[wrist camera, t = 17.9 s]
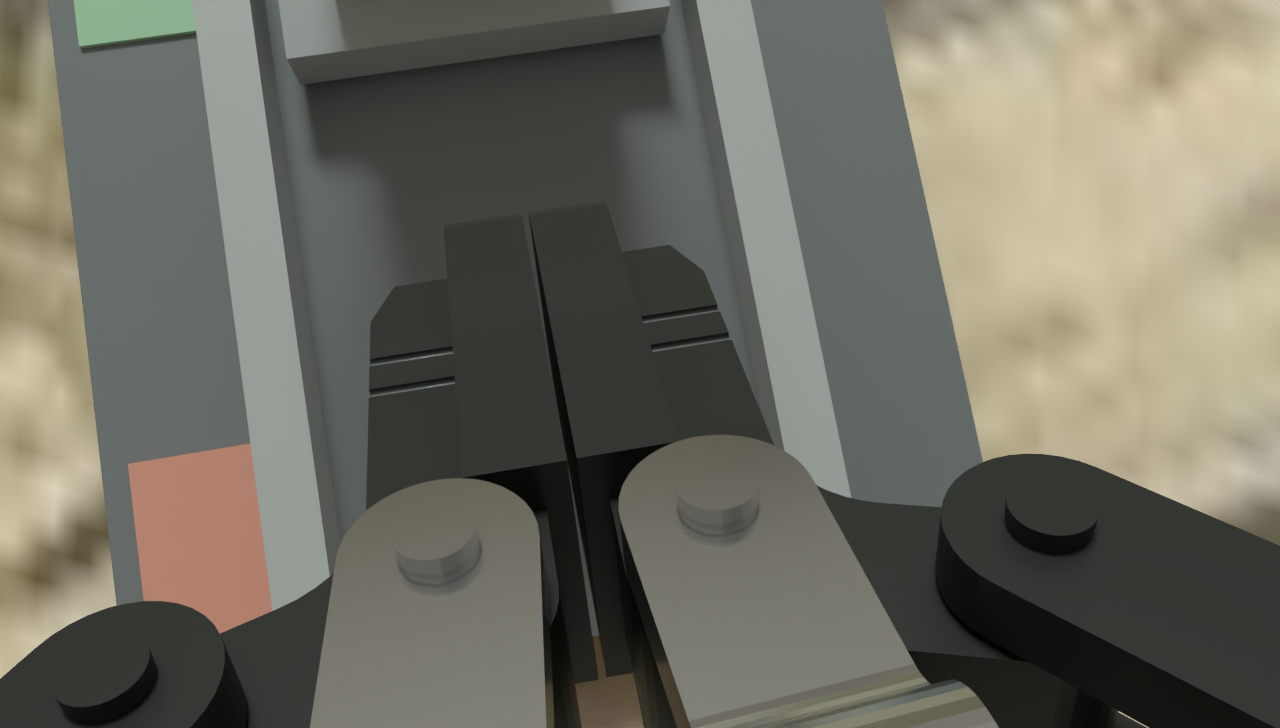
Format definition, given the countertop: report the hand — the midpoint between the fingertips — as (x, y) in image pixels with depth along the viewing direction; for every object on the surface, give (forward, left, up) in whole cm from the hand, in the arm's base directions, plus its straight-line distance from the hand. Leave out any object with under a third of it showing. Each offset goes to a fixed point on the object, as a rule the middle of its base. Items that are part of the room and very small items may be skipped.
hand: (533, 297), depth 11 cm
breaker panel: (+1, -4, -13) cm, 14 cm away
